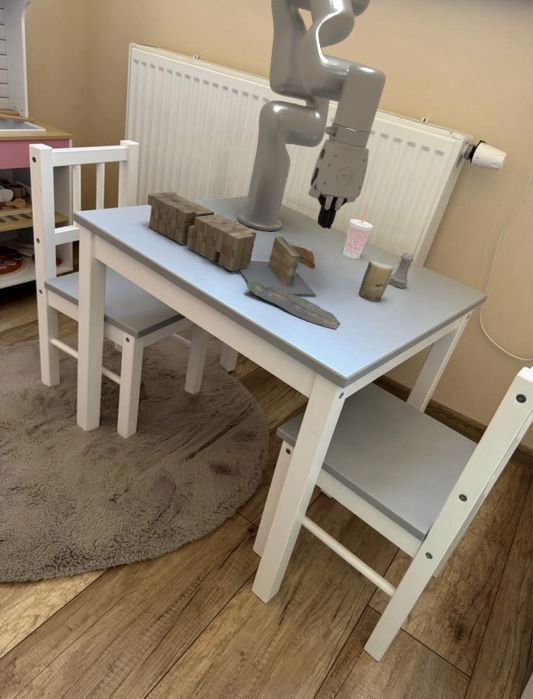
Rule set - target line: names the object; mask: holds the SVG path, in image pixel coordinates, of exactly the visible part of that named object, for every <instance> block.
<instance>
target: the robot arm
mask: <svg viewBox="0 0 533 699" xmlns="http://www.w3.org/2000/svg"><path fill="white" fill-rule="evenodd" d="M370 2H371V0H270V5H271V7H270V8H271V15H272V21H273V22H272V23H273V24H272V25H273V38H272V45H271V54H270V55H271V58H270V65H269V66H270V68H269V79H268V80H269V82H268V83H269V88H270V89H271V91H272V92H273V93H275V94H276V95H279V96H282V97H286V98H292V99H296V100H301V101H304V102H305V105H302V104H298V103H294V102H289V101H283V100H270V101H267V102H266V103H265V104H264V105H263V106H262V107H261V109H260V111H259V112H260V113H259V117H258V136H257V144H256V151H255V156H254V162H253V166H252V167H253V168H252V171H251V172H252V173H251V177H250V183H249V188H248V193H247V199H246V203H245V207H244V211H241V212H238V215H237V220H238V221H239V222H240V224H241V223H242V225H244V226H246V227H248V228H249V227H250V228H252V229H256V230H259V231H268V232H275V231H280V230H281V229H282V227H283V223H282V221H281V220H280V219H279V215H280V212H281V207H282V204H283V203H282V202H283V198H284V193H285V189H286V185H287V181H288V177H289V173H290V169H291V168H290V167H291V157H290V154H289V153H288V149H287V147H286V146H287V145H295V146H299V147H301V146H302V147H306V148H315V147H318V146H319V145H320V144H321V143H322V141H323V139H324V137H325V135H328V138H326V139H325V141H324V143H323V145H322V147H321V149H320V152H319V154H318V156H317V159H316V162H315V164H314V167H313V171H312V175H311V179H310V189H309V190H308V192H307V193H308V195H309V196H310V197H311V198H314V199H316V200H317V201H318V203H319V205H320V209H319V213H318V217H317V224H318V225H319V226H320V227H321V228H322V229H329V230H330V229H332V225H333V224H334V222H335V218H336V215H337V212H339V211H340V209H341V207H342V206H344V205H346V204H349V203H355V201H356V199H358V198H359V197H360V196H361V193H362V190H363V186H364V183H365V179H366V175H367V168H368V162H369V155H370V154H369V152H370V150H369V148H367V144H368V143H369V142H368V141H369V138H370V135H371V131H372V127H373V124H374V121H375V117H376V114H377V111H378V108H379V105H380V101H381V98H382V94H383V92H384V88H385V84H386V80H387V77H386V74H385V73H384V71H382V70H380V69H377V68H373V67H370V66H367V65H365V64H363V63H360V62H356V61H351V60H348V59H345V58H341V57H337V56H333V55H328V54H325V53H324V52H323V50H322V49H323V48H326V47H331V46H334V45H337V44H340V43H341V42H343V41H344V40H346V39H347V38H348V37H349V36H350V35H351V33H352V32H353V29H354V27H355V18H356V17H359V16H361V15H363V13H365V11H366V10H367V8H368V7H369V5H370ZM299 9H302V10H304V11H308V12H310V15H311V20H312V24H311V25H310V26H309V28H308V29H307V26H306V23H305V21H304V18H303V17H302V14H301V13H300V10H299ZM331 101H333V102H336V103H337V107H336V111H335V114H334V118H333V122H332V124H331V126H327V122H328V115H329V107H330V102H331Z"/></svg>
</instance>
